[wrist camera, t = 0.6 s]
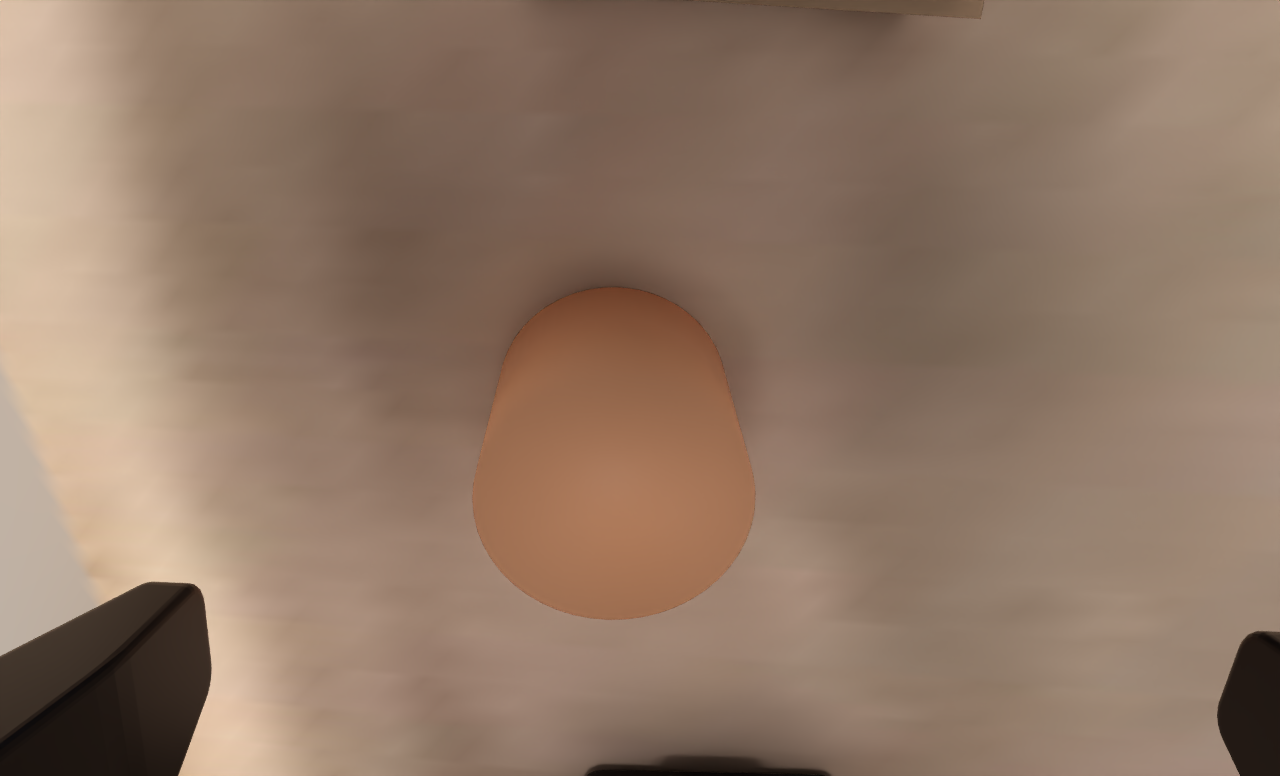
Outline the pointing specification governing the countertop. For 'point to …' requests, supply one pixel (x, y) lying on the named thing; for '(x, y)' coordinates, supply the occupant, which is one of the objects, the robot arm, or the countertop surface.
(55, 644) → the robot arm
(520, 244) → the countertop surface
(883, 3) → the tower base
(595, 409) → the tan cylinder
